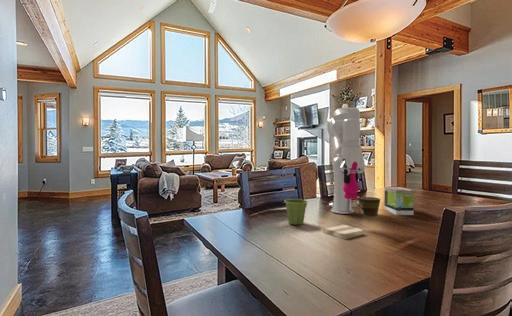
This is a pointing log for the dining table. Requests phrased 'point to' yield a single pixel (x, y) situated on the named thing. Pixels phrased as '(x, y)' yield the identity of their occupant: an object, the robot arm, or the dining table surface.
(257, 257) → the dining table surface
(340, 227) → the maple base
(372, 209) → the ceramic cup
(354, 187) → the pepper mill
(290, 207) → the plant pot
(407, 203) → the tea box
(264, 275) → the dining table surface
